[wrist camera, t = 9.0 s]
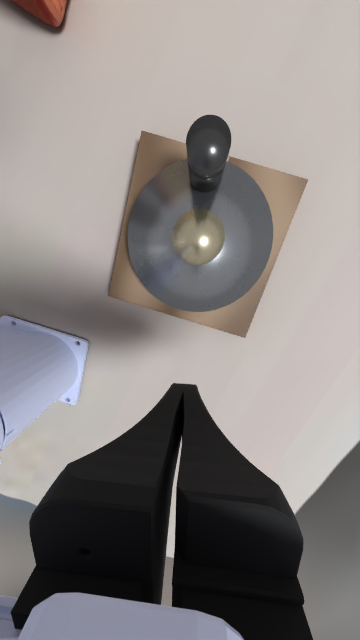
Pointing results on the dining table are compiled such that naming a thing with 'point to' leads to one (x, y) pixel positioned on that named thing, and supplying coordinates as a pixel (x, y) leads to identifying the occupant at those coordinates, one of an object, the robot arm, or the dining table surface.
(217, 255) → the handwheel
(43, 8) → the snack package
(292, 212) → the walnut base
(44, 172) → the dining table surface
